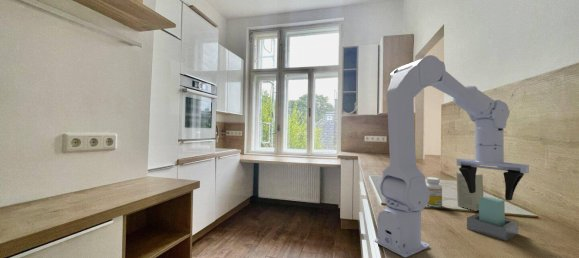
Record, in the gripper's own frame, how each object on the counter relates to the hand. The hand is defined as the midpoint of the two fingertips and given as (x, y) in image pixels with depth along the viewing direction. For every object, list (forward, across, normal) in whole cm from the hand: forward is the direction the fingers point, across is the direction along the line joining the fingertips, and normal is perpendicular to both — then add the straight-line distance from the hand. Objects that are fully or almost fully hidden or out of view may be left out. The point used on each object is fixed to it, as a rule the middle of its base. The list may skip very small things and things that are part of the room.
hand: (489, 195), depth 60 cm
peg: (+9, 0, 0) cm, 9 cm away
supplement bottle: (+10, +19, -9) cm, 23 cm away
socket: (+9, 0, 0) cm, 9 cm away
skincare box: (+10, +11, -17) cm, 23 cm away
